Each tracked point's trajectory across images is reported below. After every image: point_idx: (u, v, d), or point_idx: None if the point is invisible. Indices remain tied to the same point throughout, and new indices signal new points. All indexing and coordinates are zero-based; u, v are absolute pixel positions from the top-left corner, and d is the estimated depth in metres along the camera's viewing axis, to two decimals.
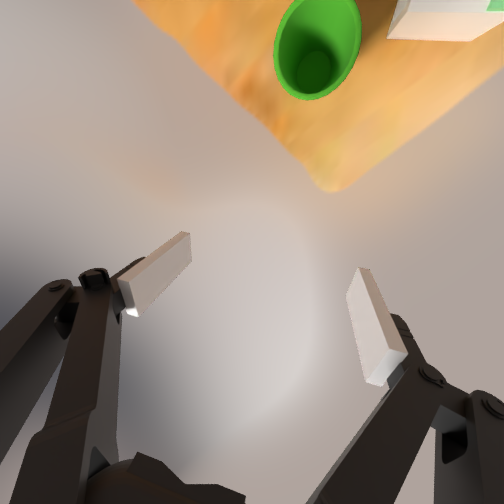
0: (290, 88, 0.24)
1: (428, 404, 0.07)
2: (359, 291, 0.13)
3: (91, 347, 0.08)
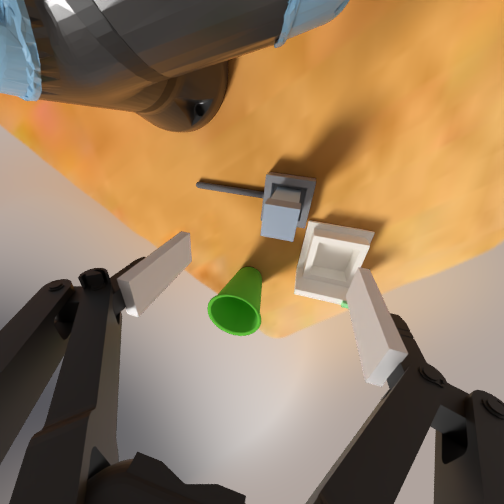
0: (221, 327, 0.35)
1: (428, 404, 0.07)
2: (359, 291, 0.13)
3: (91, 347, 0.08)
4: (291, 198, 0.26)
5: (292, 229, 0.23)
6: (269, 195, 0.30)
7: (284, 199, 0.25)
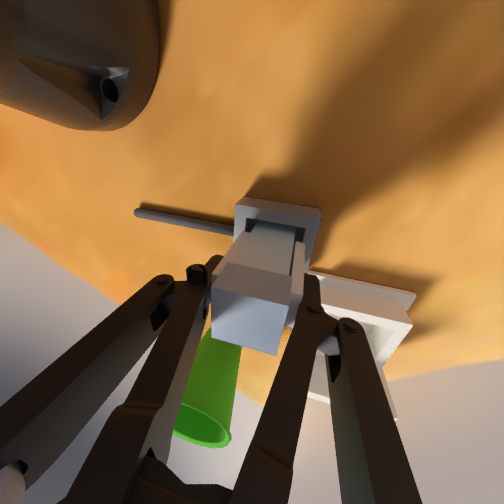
0: (174, 431, 0.23)
1: (315, 328, 0.09)
2: (292, 260, 0.16)
3: (177, 339, 0.08)
4: (275, 255, 0.14)
5: (273, 337, 0.11)
6: None
7: (261, 259, 0.13)
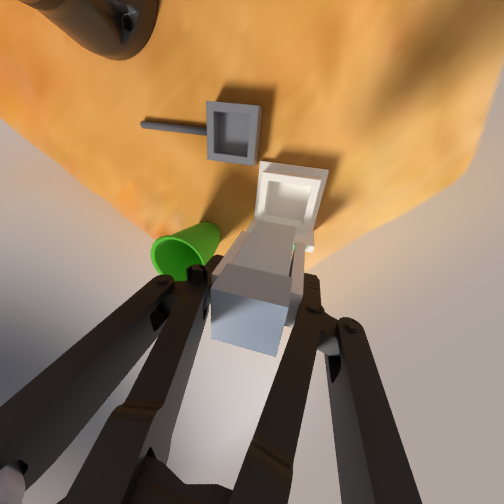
0: None
1: (315, 328, 0.09)
2: (292, 260, 0.16)
3: (176, 339, 0.08)
4: (275, 256, 0.14)
5: (273, 338, 0.11)
6: (212, 127, 0.28)
7: (261, 260, 0.13)
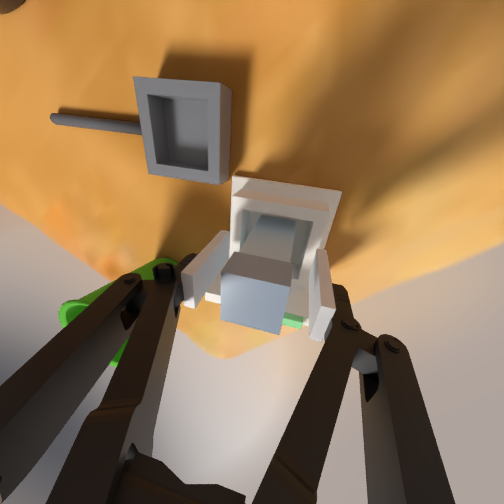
0: None
1: (349, 346, 0.09)
2: (315, 268, 0.15)
3: (149, 338, 0.08)
4: (278, 246, 0.15)
5: (277, 316, 0.12)
6: (149, 122, 0.17)
7: (265, 249, 0.14)
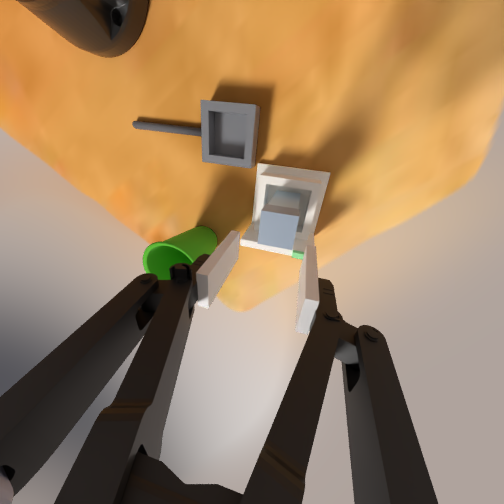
0: None
1: (332, 337, 0.09)
2: (303, 263, 0.15)
3: (163, 338, 0.08)
4: (290, 203, 0.24)
5: (291, 237, 0.22)
6: (207, 127, 0.26)
7: (282, 204, 0.24)
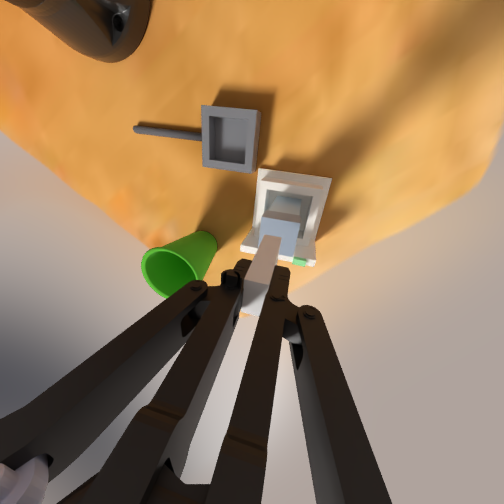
0: (160, 292, 0.30)
1: (279, 315, 0.10)
2: None
3: (205, 345, 0.08)
4: (291, 209, 0.24)
5: (292, 244, 0.21)
6: (208, 132, 0.26)
7: (283, 210, 0.23)
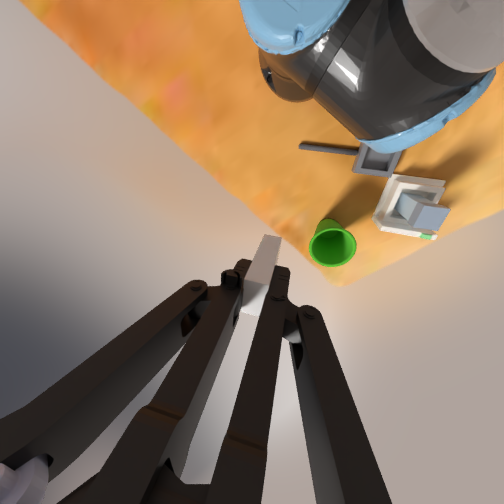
0: (317, 260, 0.43)
1: (279, 315, 0.10)
2: None
3: (205, 345, 0.08)
4: (427, 201, 0.37)
5: (440, 222, 0.34)
6: (366, 150, 0.39)
7: (425, 202, 0.37)
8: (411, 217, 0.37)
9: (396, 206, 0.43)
